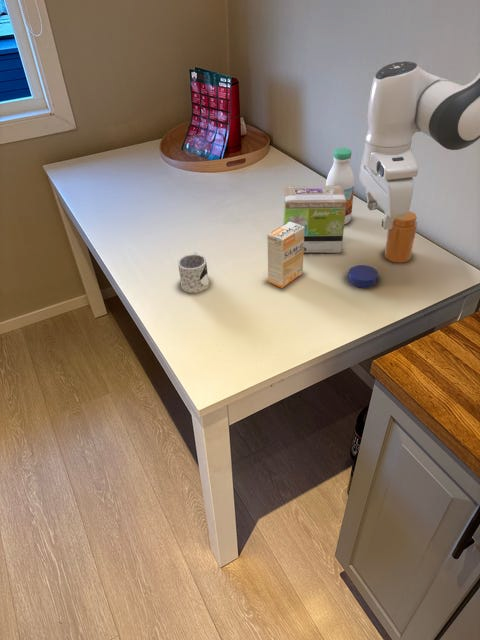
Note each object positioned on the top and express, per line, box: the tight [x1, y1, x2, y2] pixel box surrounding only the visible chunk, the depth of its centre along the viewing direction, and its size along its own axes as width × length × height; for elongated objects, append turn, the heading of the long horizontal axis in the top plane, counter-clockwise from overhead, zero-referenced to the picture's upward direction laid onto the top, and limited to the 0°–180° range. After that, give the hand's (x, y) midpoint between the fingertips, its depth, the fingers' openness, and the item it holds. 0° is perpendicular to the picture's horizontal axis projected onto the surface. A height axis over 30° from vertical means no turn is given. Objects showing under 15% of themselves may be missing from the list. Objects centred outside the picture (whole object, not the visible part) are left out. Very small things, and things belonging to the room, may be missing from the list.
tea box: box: [282, 185, 346, 254], centre depth 125 cm, size 15×10×15 cm
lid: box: [347, 264, 379, 289], centre depth 115 cm, size 7×7×2 cm
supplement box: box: [266, 222, 305, 289], centre depth 114 cm, size 8×5×13 cm, turn 137°
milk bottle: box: [325, 147, 355, 225], centre depth 134 cm, size 8×8×20 cm
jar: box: [384, 210, 418, 263], centre depth 119 cm, size 6×6×11 cm
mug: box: [177, 252, 210, 294], centre depth 117 cm, size 10×7×7 cm
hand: (378, 218), depth 105 cm, fingers open, 8 cm apart
